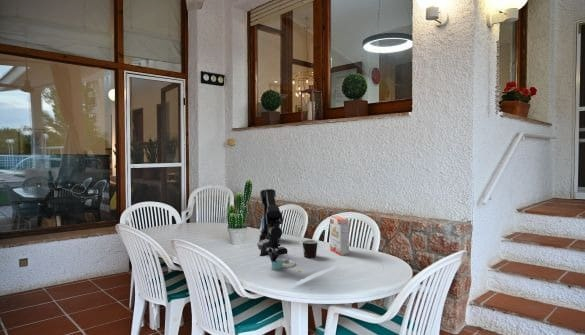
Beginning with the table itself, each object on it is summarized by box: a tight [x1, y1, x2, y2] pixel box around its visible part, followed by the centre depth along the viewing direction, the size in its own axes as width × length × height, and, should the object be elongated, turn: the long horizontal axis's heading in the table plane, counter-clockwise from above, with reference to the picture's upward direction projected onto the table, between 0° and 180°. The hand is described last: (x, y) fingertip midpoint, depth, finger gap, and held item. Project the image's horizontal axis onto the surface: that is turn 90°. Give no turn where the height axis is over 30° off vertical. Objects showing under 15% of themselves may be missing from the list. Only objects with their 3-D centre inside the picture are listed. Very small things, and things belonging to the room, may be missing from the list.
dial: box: [271, 258, 296, 271], centre depth 196 cm, size 16×10×4 cm, turn 147°
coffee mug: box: [302, 239, 319, 259], centre depth 215 cm, size 12×9×10 cm
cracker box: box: [329, 215, 350, 256], centre depth 228 cm, size 14×6×21 cm, turn 21°
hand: (273, 264), depth 194 cm, fingers closed
